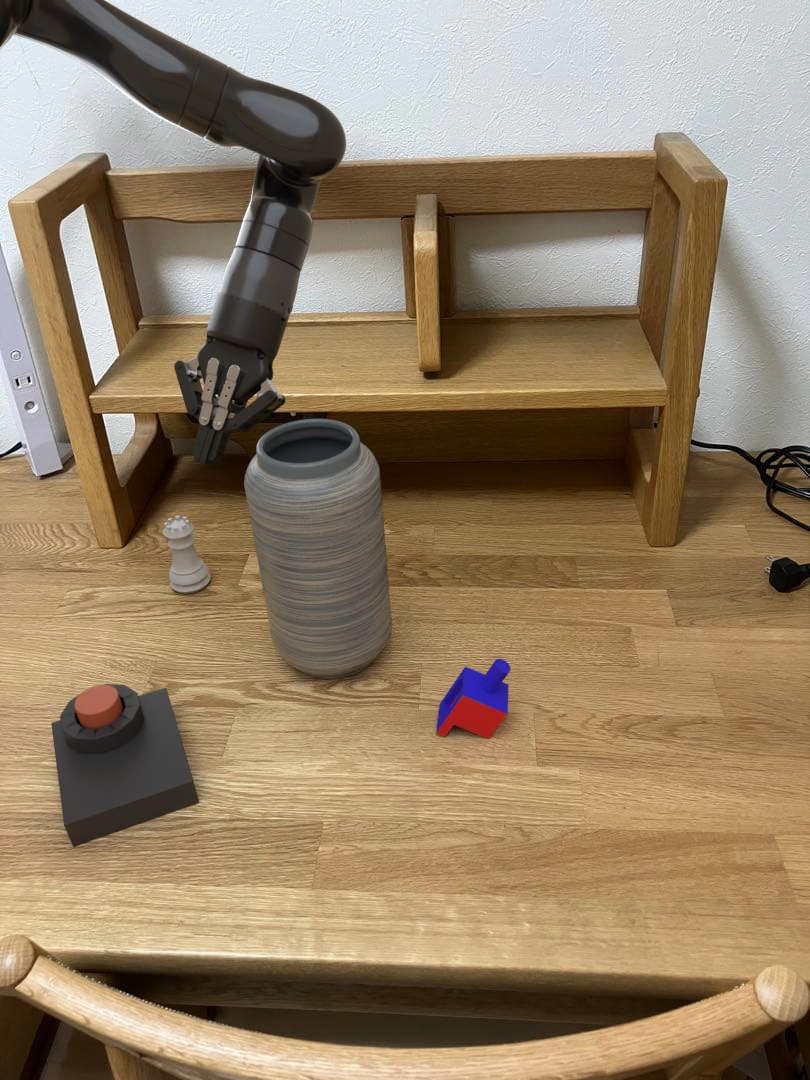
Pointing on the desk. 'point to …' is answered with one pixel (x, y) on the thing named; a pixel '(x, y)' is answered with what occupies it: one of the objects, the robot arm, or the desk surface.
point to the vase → (320, 546)
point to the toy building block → (476, 701)
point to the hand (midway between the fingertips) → (204, 463)
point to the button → (98, 706)
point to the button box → (121, 767)
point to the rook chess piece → (184, 558)
